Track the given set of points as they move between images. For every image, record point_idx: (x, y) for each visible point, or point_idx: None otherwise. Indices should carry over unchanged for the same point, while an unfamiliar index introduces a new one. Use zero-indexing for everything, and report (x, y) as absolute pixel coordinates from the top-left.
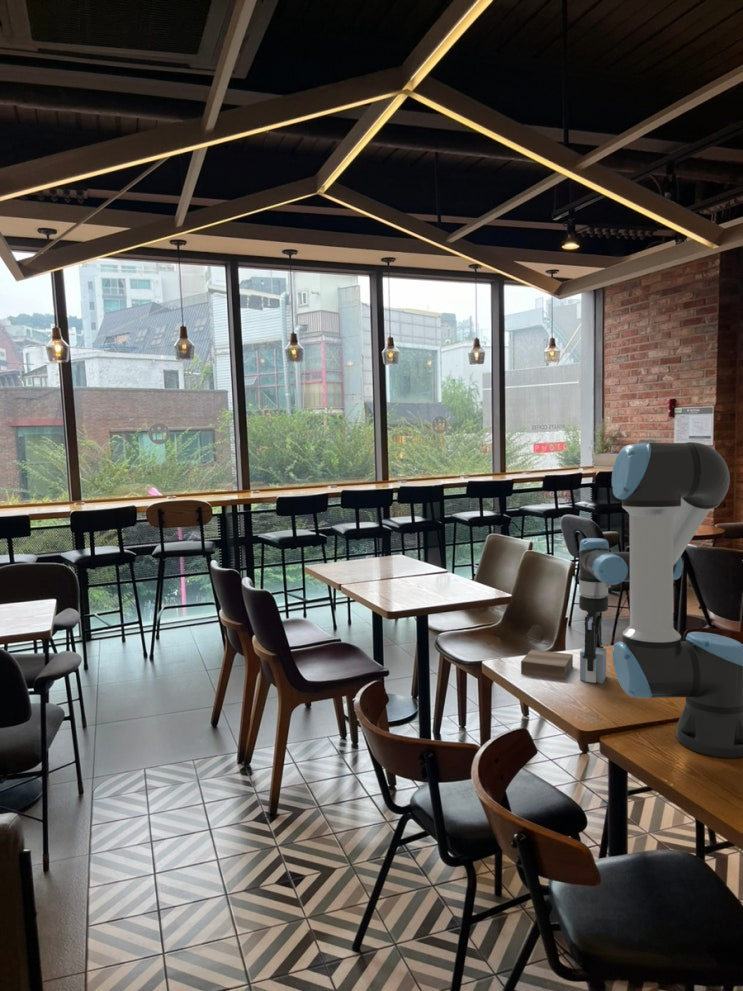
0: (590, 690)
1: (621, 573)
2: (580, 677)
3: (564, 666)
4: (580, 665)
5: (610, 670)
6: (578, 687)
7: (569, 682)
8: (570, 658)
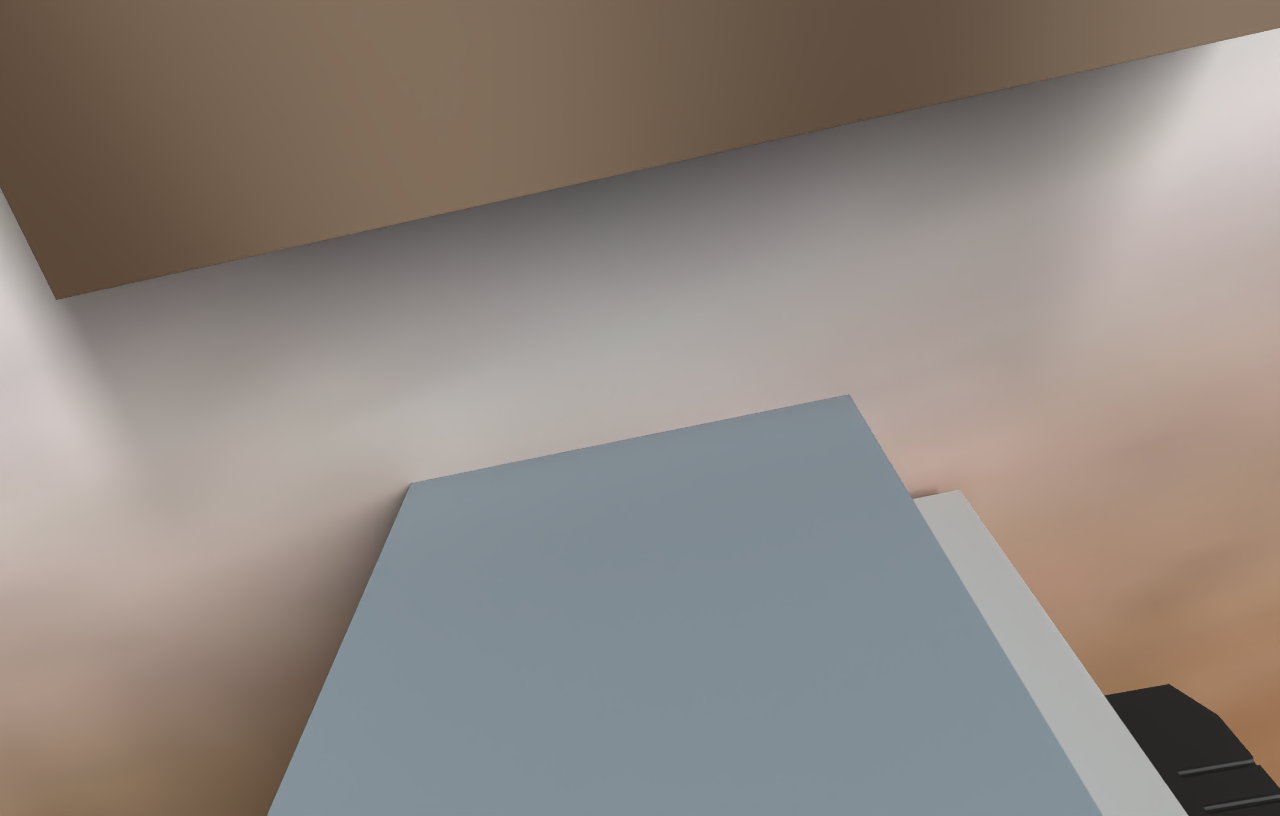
0: (81, 772)
1: None
2: (403, 520)
3: (77, 289)
4: (321, 705)
5: (1258, 689)
6: (43, 593)
7: (148, 368)
8: (1096, 63)
